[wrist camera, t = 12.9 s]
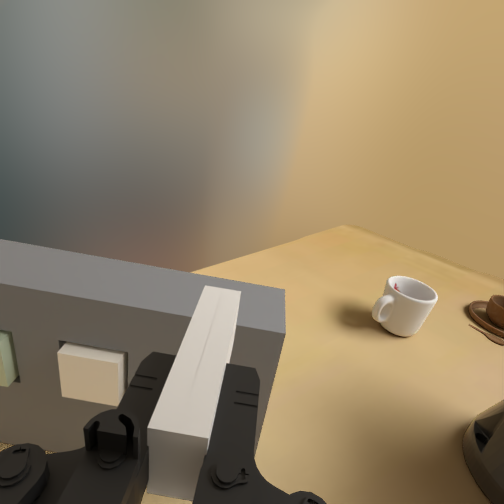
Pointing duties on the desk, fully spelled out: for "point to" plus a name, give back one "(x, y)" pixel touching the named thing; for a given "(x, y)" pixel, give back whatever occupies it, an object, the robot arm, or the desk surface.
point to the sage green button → (7, 359)
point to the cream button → (93, 373)
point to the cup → (404, 305)
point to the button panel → (109, 331)
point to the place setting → (499, 311)
